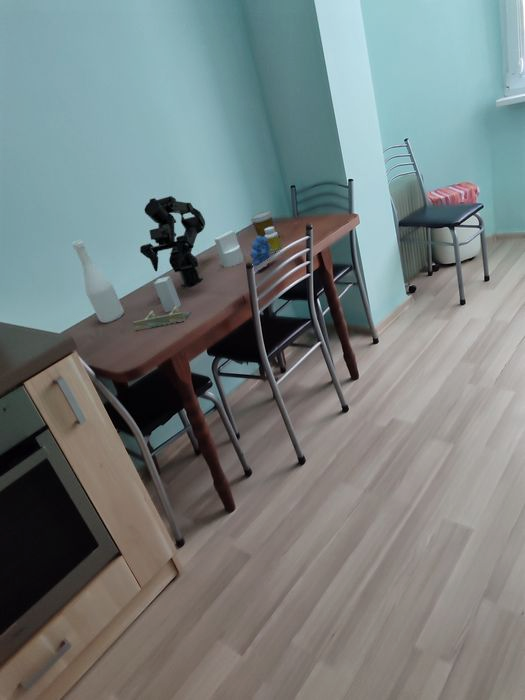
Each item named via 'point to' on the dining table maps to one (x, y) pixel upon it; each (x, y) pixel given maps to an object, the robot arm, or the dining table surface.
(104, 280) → the wine bottle
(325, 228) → the dining table surface
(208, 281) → the dining table surface
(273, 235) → the supplement bottle
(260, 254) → the grapes
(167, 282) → the grey block
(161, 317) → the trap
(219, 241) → the cylinder with rectangular tab
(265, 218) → the disposable coffee cup
